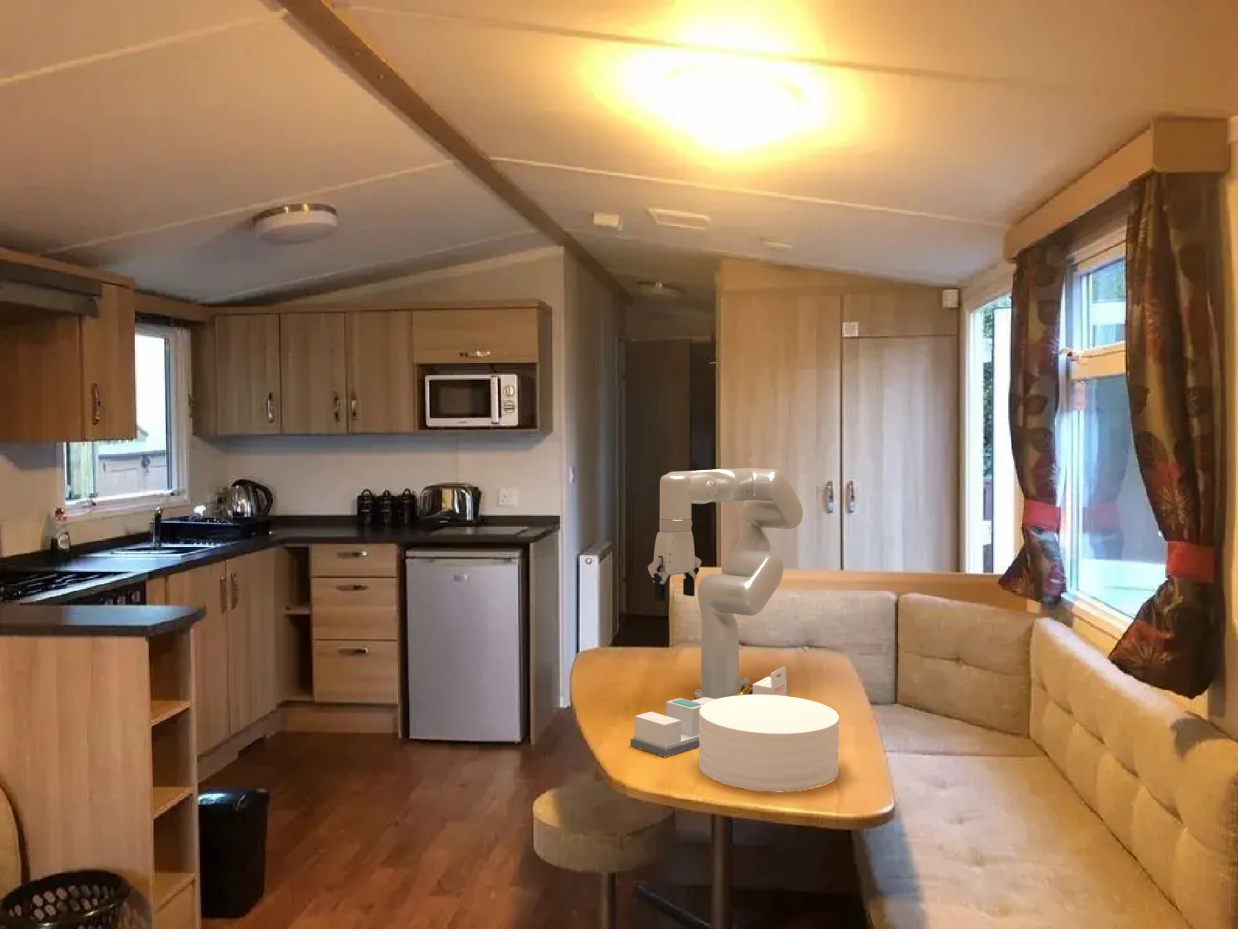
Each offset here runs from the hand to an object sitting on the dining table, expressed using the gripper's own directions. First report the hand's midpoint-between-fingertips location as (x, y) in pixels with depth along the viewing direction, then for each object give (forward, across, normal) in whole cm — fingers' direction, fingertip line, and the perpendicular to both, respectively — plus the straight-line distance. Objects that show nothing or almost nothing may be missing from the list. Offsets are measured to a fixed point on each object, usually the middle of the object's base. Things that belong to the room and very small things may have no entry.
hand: (674, 597), depth 243 cm
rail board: (+28, +12, +15) cm, 34 cm away
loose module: (+26, +12, +15) cm, 32 cm away
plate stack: (+29, +13, +39) cm, 50 cm away
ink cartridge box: (+28, -6, +24) cm, 38 cm away
